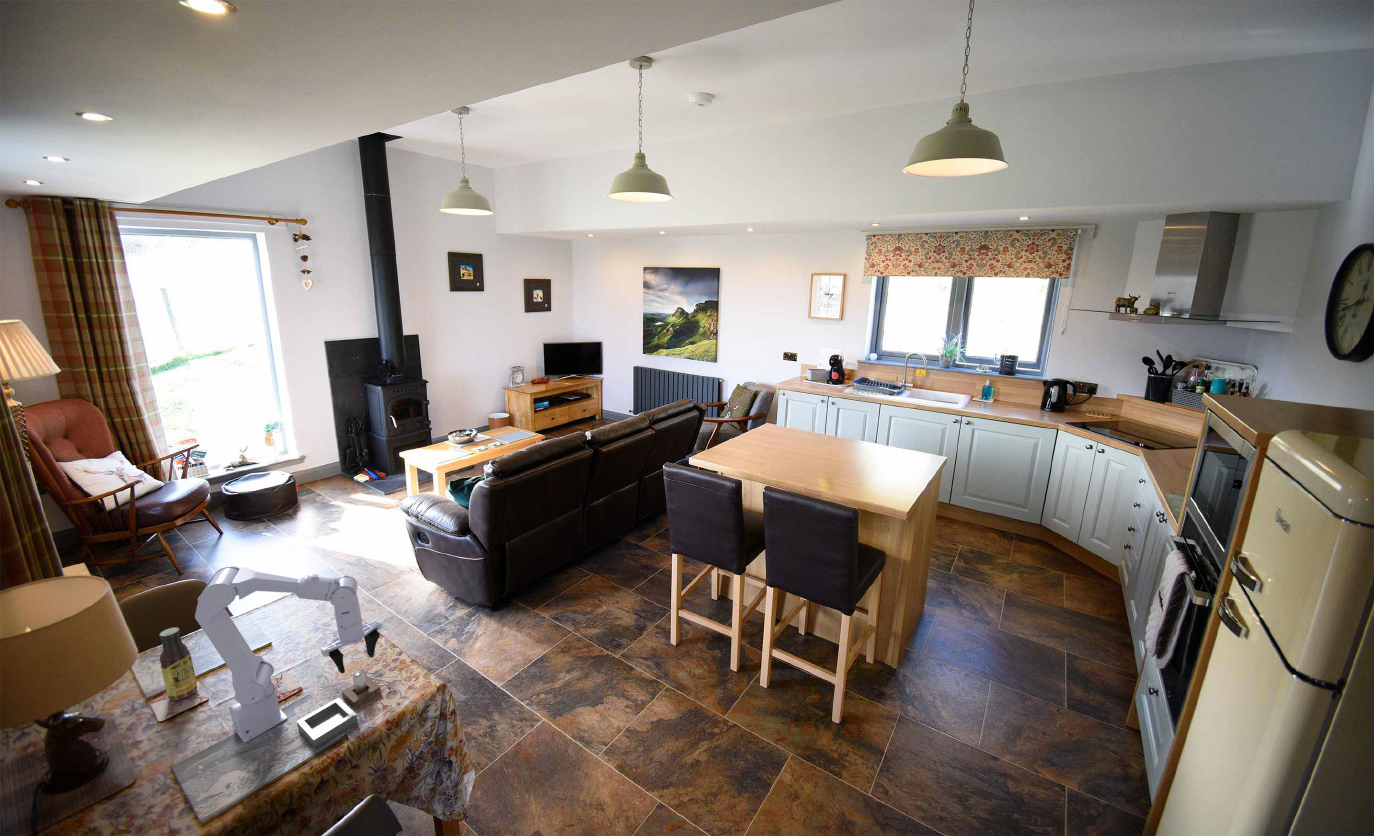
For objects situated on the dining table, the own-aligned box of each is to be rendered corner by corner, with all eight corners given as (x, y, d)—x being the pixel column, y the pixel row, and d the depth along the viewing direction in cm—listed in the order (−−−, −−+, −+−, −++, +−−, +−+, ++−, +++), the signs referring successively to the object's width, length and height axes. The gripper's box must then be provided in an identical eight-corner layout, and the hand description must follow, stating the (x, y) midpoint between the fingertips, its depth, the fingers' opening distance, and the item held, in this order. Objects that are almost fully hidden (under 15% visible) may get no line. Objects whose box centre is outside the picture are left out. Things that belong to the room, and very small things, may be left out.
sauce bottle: (180, 704, 149) (163, 642, 144) (162, 700, 150) (144, 638, 145) (205, 686, 155) (189, 626, 150) (187, 683, 156) (171, 623, 151)
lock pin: (359, 700, 151) (355, 679, 149) (354, 695, 152) (350, 674, 151) (369, 694, 153) (366, 673, 151) (364, 689, 155) (361, 669, 153)
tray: (315, 749, 135) (313, 740, 134) (298, 730, 141) (296, 721, 140) (357, 723, 143) (356, 714, 142) (340, 706, 149) (338, 697, 148)
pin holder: (354, 708, 148) (353, 702, 148) (342, 697, 152) (341, 691, 151) (381, 692, 154) (380, 686, 153) (368, 682, 157) (367, 676, 157)
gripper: (326, 640, 139) (335, 685, 142) (384, 612, 150) (390, 654, 154) (314, 630, 142) (322, 674, 146) (371, 604, 154) (377, 645, 158)
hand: (356, 663), depth 150 cm, fingers open, 7 cm apart
